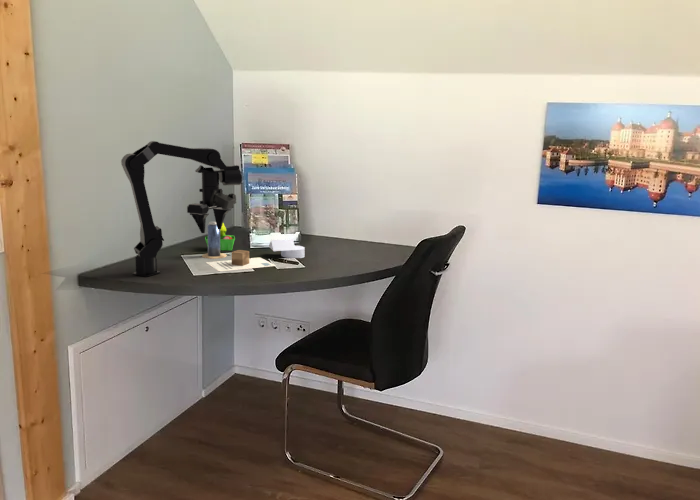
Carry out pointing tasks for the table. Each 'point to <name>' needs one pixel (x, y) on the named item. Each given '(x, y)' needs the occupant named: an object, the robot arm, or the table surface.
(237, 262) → the cube
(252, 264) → the letter
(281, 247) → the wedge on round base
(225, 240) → the fruit basket
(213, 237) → the flask
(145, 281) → the table surface
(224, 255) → the coaster
